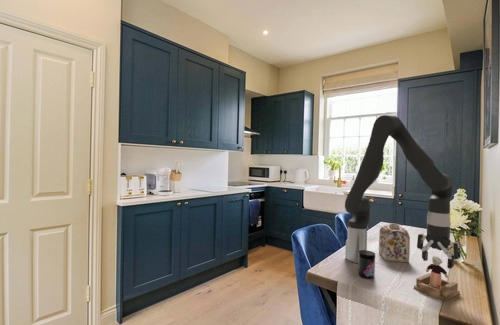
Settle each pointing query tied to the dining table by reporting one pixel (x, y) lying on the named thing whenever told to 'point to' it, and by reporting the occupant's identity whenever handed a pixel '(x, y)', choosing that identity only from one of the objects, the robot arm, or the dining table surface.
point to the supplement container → (366, 264)
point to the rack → (444, 294)
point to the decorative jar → (394, 243)
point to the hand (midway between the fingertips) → (437, 264)
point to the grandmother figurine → (436, 272)
